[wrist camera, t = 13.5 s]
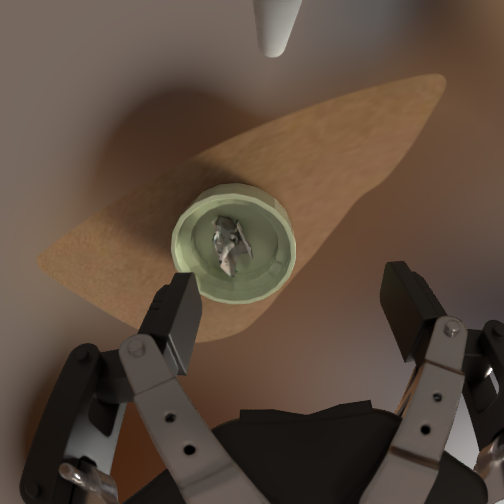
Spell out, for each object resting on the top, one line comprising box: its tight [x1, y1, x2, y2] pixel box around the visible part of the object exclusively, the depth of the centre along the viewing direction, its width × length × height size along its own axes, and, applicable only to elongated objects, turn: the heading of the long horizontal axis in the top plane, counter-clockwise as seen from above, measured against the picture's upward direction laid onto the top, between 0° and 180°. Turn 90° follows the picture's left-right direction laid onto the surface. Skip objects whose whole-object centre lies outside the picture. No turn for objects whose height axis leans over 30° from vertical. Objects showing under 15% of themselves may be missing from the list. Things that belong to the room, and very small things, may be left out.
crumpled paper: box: [212, 215, 253, 278], centre depth 35 cm, size 4×8×7 cm, turn 21°
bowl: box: [171, 183, 296, 304], centre depth 37 cm, size 15×15×5 cm
